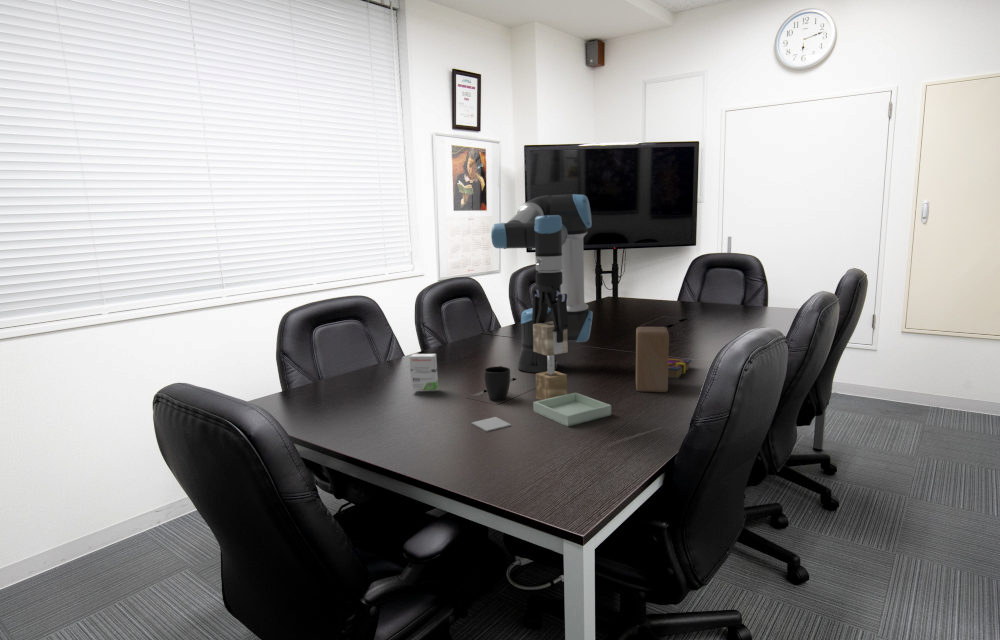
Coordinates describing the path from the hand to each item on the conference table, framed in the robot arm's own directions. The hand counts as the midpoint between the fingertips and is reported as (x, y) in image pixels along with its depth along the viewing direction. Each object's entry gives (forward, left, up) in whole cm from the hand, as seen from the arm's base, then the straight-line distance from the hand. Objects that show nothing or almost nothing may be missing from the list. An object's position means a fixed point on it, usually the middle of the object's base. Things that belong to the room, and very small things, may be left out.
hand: (550, 350), depth 171 cm
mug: (-24, -3, -19) cm, 31 cm away
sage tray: (+3, +5, -19) cm, 20 cm away
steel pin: (-12, +9, -19) cm, 24 cm away
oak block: (-12, +9, -19) cm, 24 cm away
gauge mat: (-3, -19, -19) cm, 27 cm away
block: (-1, +42, -19) cm, 46 cm away
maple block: (0, 0, 0) cm, 0 cm away
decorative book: (-10, +61, -19) cm, 65 cm away
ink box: (-48, -18, -19) cm, 54 cm away
